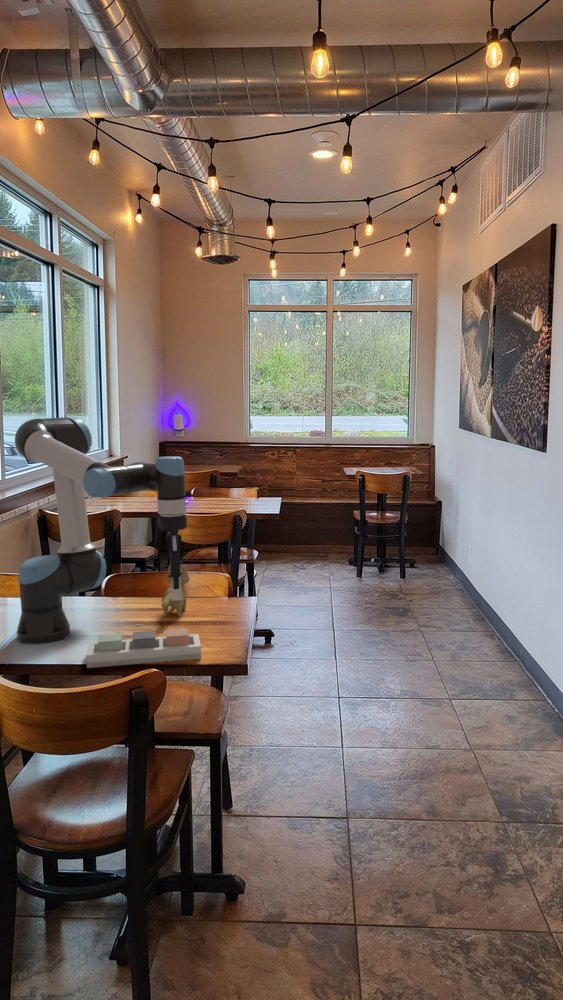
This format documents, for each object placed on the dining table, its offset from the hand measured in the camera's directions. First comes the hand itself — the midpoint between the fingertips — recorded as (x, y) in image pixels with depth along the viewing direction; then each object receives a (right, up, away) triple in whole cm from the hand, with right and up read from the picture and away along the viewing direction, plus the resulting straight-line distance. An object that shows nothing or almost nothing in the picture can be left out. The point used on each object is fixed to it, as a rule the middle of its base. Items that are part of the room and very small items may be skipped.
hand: (176, 599), depth 190 cm
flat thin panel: (-13, -13, +21) cm, 28 cm away
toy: (-7, -10, +37) cm, 39 cm away
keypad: (-9, -16, +1) cm, 18 cm away
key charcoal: (-9, -12, 0) cm, 15 cm away
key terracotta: (0, -12, +2) cm, 12 cm away
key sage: (-18, -12, -1) cm, 22 cm away
